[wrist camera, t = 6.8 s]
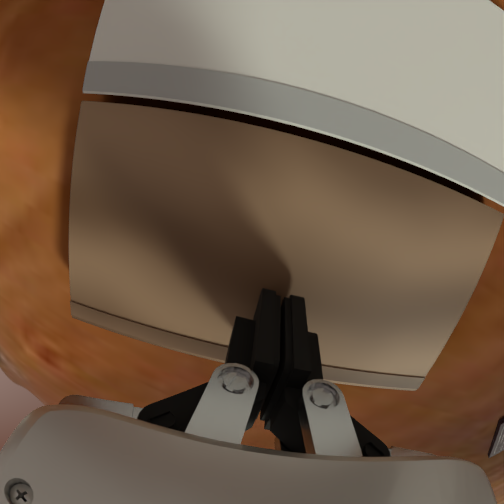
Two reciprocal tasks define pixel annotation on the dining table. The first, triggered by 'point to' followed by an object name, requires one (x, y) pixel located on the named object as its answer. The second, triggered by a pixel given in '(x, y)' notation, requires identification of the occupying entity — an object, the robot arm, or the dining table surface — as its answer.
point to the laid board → (326, 71)
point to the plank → (266, 241)
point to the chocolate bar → (497, 440)
